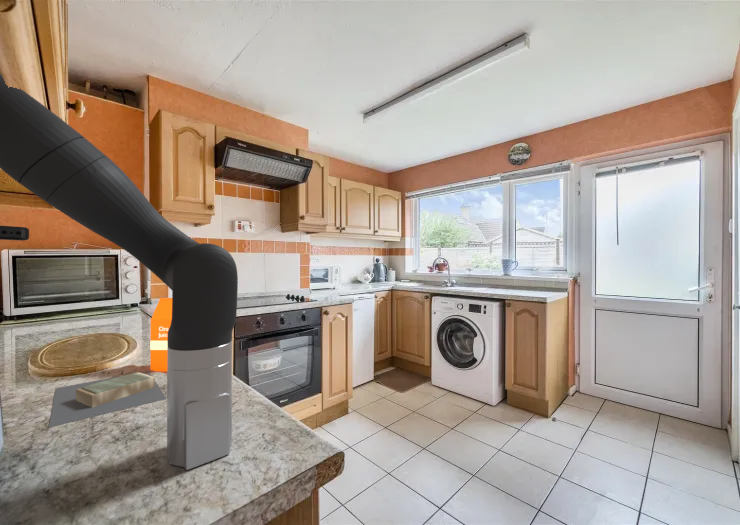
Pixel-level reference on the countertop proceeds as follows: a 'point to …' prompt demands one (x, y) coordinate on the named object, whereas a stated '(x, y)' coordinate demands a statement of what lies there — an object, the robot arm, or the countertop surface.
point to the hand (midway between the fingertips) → (27, 234)
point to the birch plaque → (114, 389)
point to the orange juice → (160, 334)
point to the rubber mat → (73, 410)
